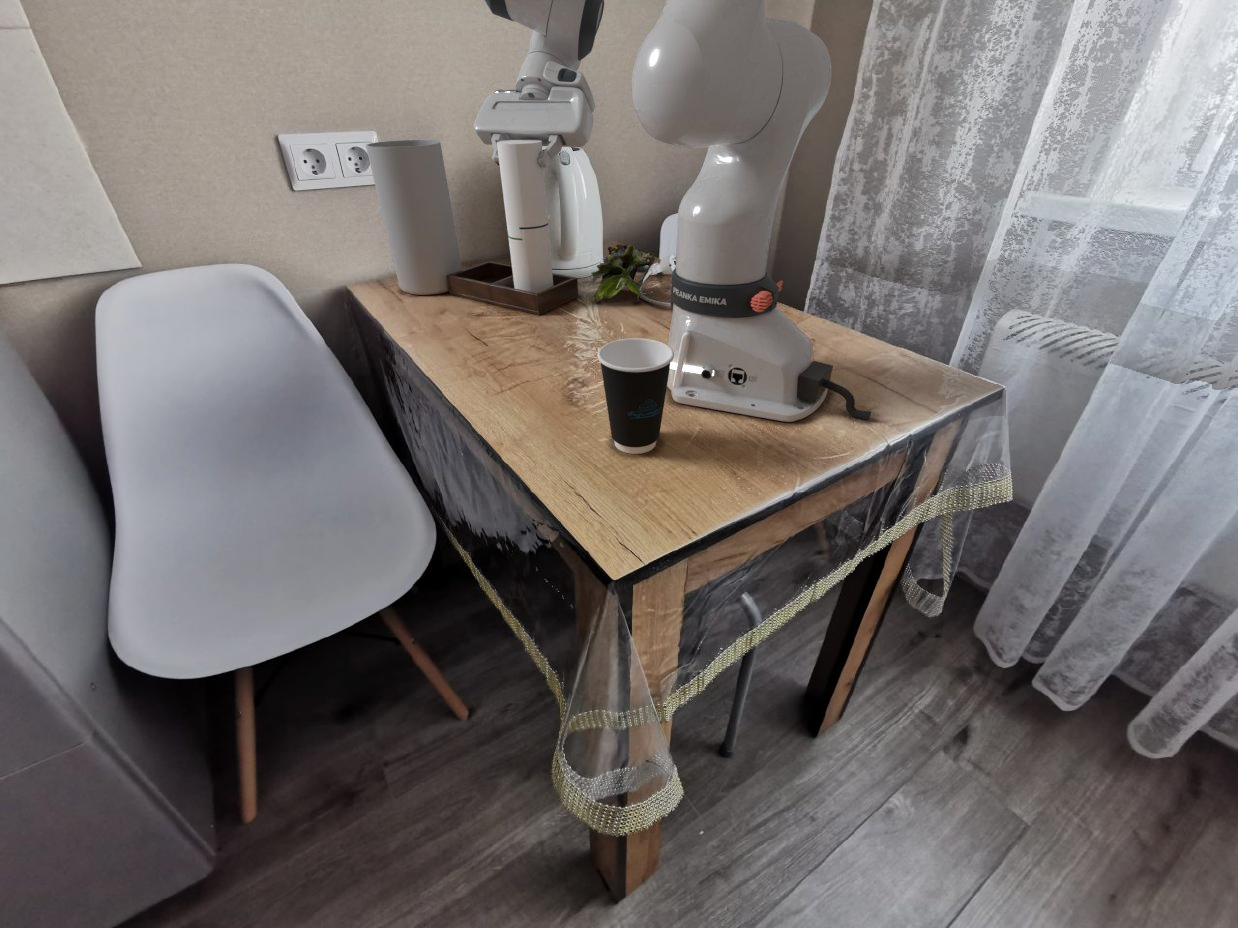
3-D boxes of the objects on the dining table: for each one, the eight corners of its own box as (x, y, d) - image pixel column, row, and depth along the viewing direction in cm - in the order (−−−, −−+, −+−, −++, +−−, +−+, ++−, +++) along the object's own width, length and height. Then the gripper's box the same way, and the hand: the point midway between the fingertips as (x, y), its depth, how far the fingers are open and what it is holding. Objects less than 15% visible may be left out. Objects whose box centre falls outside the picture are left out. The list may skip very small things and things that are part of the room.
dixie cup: (646, 470, 59) (648, 376, 53) (586, 448, 63) (581, 357, 57) (682, 436, 65) (688, 347, 58) (625, 418, 68) (624, 332, 62)
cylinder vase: (390, 285, 113) (355, 143, 99) (447, 273, 119) (422, 138, 105) (415, 300, 105) (381, 149, 91) (475, 286, 111) (452, 143, 97)
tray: (578, 296, 106) (577, 277, 104) (539, 315, 98) (537, 295, 96) (491, 278, 116) (489, 261, 114) (449, 294, 108) (446, 275, 106)
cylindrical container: (551, 302, 101) (538, 143, 87) (512, 302, 101) (492, 144, 87) (556, 289, 107) (544, 139, 92) (519, 290, 107) (501, 140, 93)
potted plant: (618, 318, 111) (640, 260, 110) (652, 324, 103) (676, 261, 102) (573, 294, 104) (596, 232, 103) (606, 298, 96) (631, 231, 95)
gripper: (480, 75, 93) (456, 148, 91) (592, 73, 86) (568, 152, 85) (498, 105, 99) (476, 175, 97) (604, 106, 92) (582, 180, 91)
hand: (519, 164), depth 91 cm, fingers closed on cylindrical container, 7 cm apart
